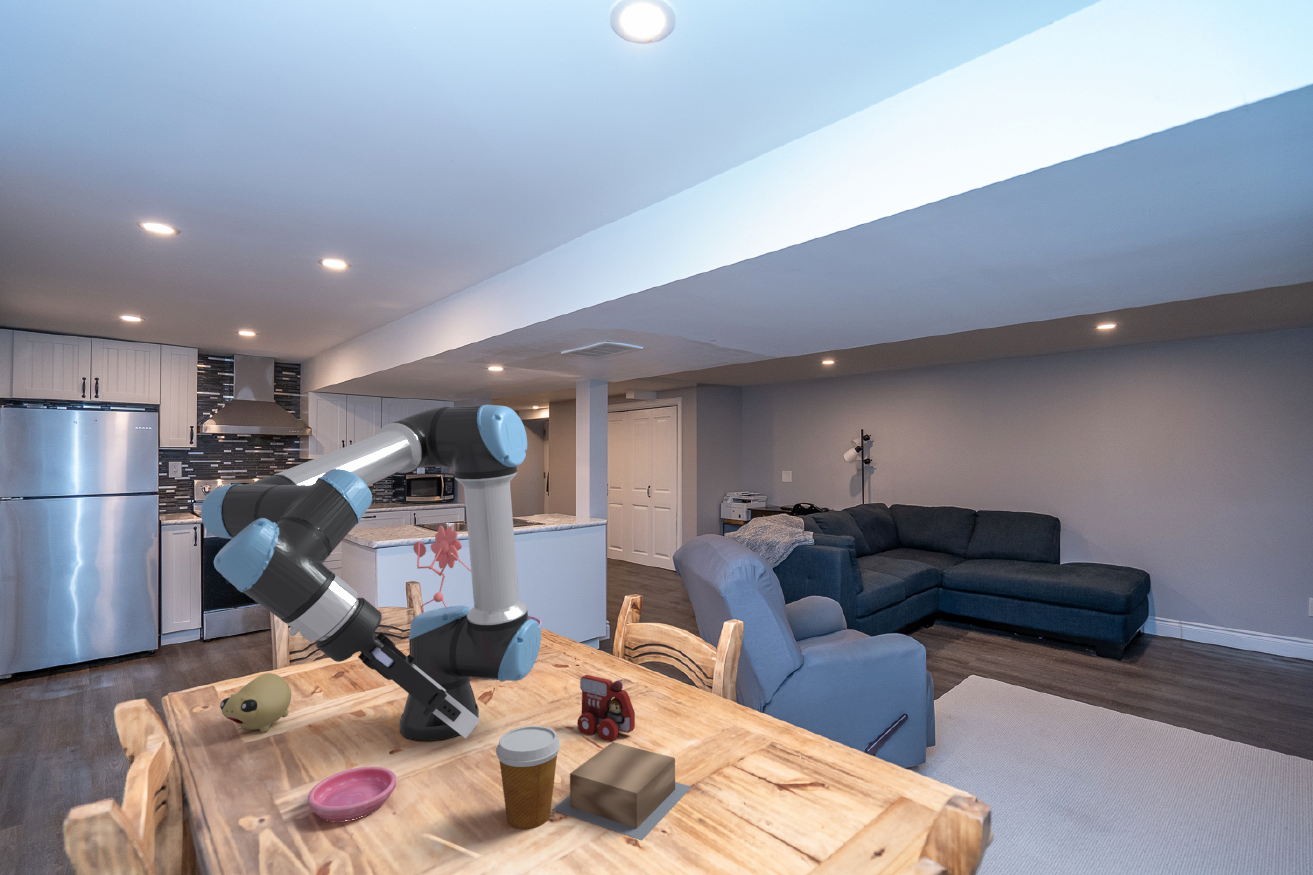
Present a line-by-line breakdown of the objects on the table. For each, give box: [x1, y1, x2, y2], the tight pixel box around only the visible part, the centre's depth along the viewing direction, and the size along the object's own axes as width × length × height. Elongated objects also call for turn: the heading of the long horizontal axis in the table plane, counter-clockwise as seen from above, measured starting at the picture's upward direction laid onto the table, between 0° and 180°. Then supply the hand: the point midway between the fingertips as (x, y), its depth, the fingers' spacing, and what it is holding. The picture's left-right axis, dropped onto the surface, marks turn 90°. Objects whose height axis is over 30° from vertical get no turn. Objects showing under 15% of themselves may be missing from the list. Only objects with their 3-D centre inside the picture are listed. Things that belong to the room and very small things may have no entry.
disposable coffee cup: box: [495, 725, 562, 830], centre depth 93 cm, size 10×10×12 cm
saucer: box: [307, 766, 397, 823], centre depth 97 cm, size 12×12×3 cm
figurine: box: [413, 525, 471, 613], centre depth 180 cm, size 15×26×35 cm, turn 56°
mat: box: [551, 781, 692, 841], centre depth 98 cm, size 16×16×1 cm
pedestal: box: [569, 741, 676, 828], centre depth 98 cm, size 12×12×5 cm
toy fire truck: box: [576, 674, 636, 742], centre depth 122 cm, size 7×12×10 cm, turn 58°
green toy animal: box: [219, 672, 292, 734], centre depth 125 cm, size 10×12×11 cm
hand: (454, 712), depth 86 cm, fingers open, 13 cm apart
